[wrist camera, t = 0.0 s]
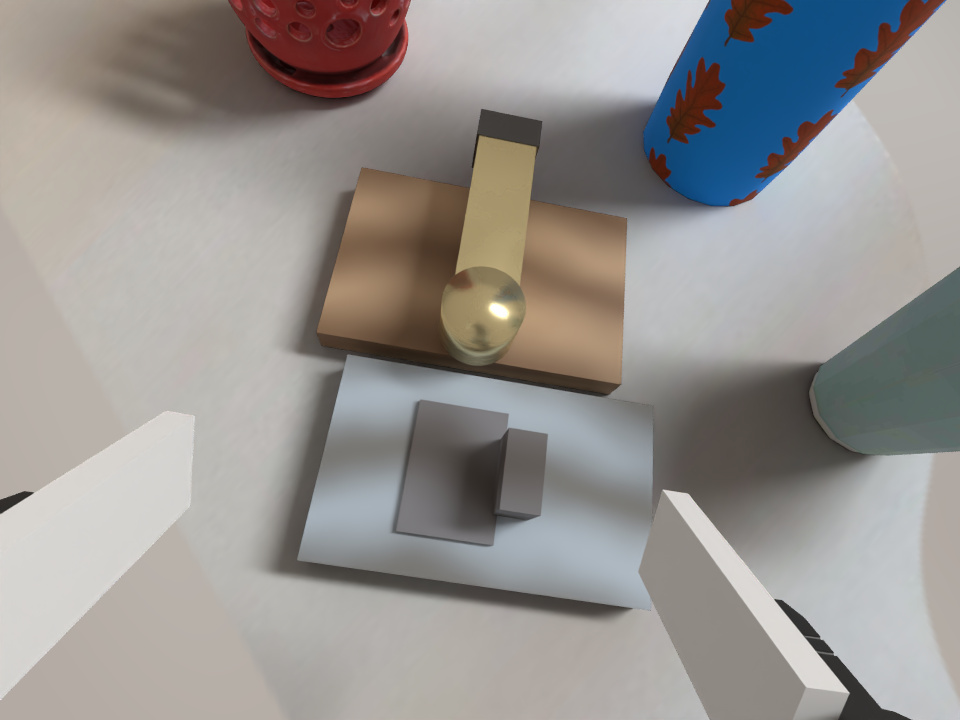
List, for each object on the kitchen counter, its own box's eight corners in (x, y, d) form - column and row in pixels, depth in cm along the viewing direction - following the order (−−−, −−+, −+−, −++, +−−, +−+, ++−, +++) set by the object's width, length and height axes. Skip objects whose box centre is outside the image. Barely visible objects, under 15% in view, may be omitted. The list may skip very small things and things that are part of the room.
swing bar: (509, 371, 30) (521, 349, 27) (432, 358, 30) (435, 334, 26) (535, 159, 36) (547, 120, 32) (471, 146, 35) (476, 105, 32)
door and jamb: (635, 607, 29) (678, 616, 24) (265, 554, 28) (236, 553, 23) (643, 240, 38) (676, 195, 33) (364, 187, 36) (357, 132, 32)
